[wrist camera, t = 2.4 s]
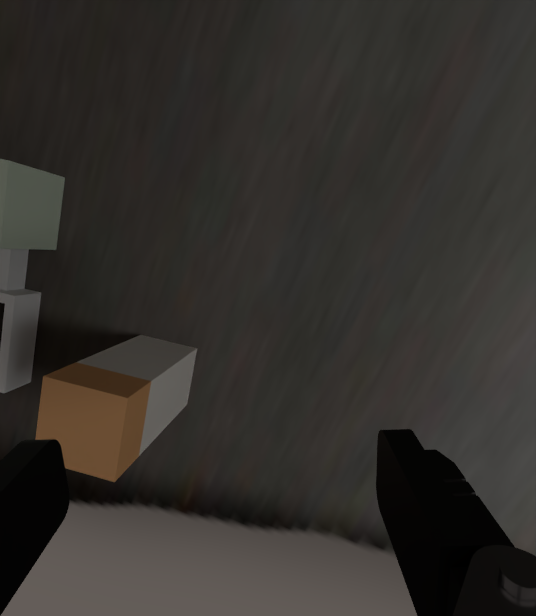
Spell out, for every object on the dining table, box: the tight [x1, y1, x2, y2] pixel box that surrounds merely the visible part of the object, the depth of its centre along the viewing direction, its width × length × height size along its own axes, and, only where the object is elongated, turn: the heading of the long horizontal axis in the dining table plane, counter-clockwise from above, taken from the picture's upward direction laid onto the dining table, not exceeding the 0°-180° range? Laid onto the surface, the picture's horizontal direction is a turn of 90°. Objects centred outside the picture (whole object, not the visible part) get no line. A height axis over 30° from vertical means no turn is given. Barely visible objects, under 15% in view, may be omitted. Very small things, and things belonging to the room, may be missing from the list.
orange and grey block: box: [36, 335, 197, 482], centre depth 28 cm, size 5×5×12 cm
